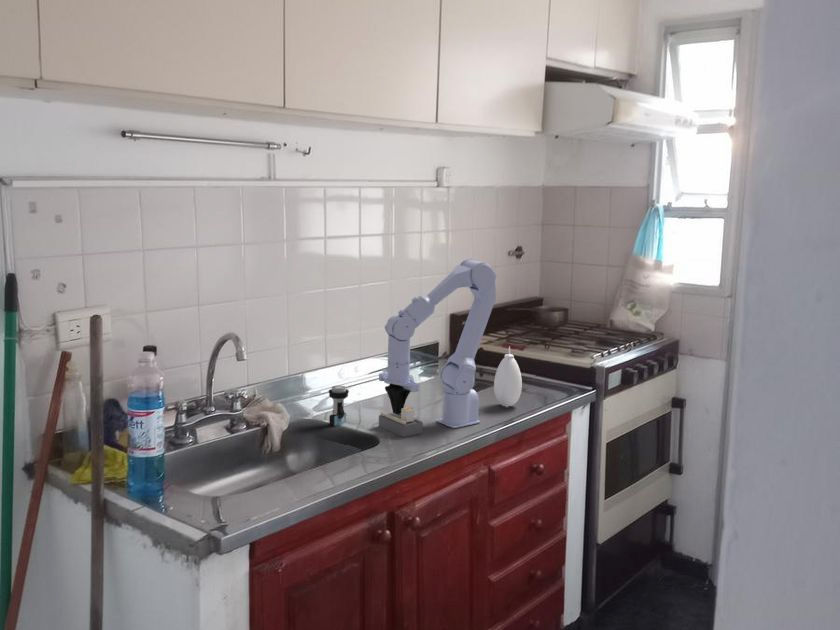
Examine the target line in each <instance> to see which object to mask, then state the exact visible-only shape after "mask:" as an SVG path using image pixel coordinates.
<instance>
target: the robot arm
mask: <svg viewBox="0 0 840 630" xmlns="http://www.w3.org/2000/svg"><path fill="white" fill-rule="evenodd" d="M497 276H498V275H497V273H496V272H495V270H494V268H493V266H491V264H489V263H487V262H483V261H478V260H475V259H472V258H467V259H465V260H463V261H462V262H460V263H459V264H458V265H457V266H455V267H454V268H453V269H452V271H451V272H450V273H449V274H448V275H447V276H445V278H444V279H443V280H442V281H440V283H439V284H438V285H437V286H435V287H434V288H433V289H432V290H431V291H430V292H429V293H428V294H427V295H425V296H423V295H420V296H417V297H416V296H414V297H413V298H412V299H411V301H412V302H411V303H410V304H408V305H407V306H406V307H405V308H404V309H399V311H398V312H397V313H398V314H396V315H392V316H390V318H389V319H387V323H386V324H385V325H384V329H385V333H386V334H388V336H387V337H388V342H387V343H388V344H387V372H380V373H379V374H378V381H380V382H384V383H385V384H387V385H386V386H384V390H385V392H386V394H387V396H388V399H389V401H390V406H391V409H392V413H395V414H399V413H401V409H403V408H405V403H406V400H407V399H408V397H409V395H410V393H417V392H419V391H420V389H419V388H420V387H419V386H420V385H419V383H417V382H415V381H414V379H411V378H410V372H411V371H410V369H411V368H410V367H411V366H410V365H411V363H410V362H411V338H412V337H413V336H414V334H415V331H416V329H417V328H418V327H419V326H420V325H422V324H423V323H424V322H425V321H426V320H428V318H429V317H431V315H433V314H434V312H435V307H436V306H437V305H438V304H439V303H440V302H441V301H443V300H444V299H445V298H447V297H448V296H450V295H451V294H452V293H454V292H455V291H456V290H457V289H460V288H469V290H470V291H471V293H472V295H473V297H474V298H473V301H472V304H471V307H470V309H469V312H468V316H467V318H466V321H465V323H464V326H463V329H462V332H461V335H460V338H459V340H458V343H457V346H456V348H455V352H454V353H452V354H451V355H450V356H449V357H448V359H447V362H446V363H445V364H444V365H443V366H442V367H441V370H440V371H439V379H440V380H441V382H442V383H443V389H442V390H443V391H442V395H443V396H442V417H441V418H436V419H435V422H437V423H439V424H441V425H445V426H447V427H450V428H452V429H458V428H463V427H467V426H470V425H475V424H479V423H481V420H479V403H480V399H479V395H478V393H477V391H476V390H475V389H473V388H474V385H475V381H476V379H475V375H476V374H475V373H476V370H477V368H476V362H475V359H476V354H477V352H478V349H479V347H480V344H481V341H482V339H483V335H484V333H485V330H486V327H487V324H488V321H489V318H490V316H491V314H492V310H493V308H494V305H495V302H496V299H497V289H496V279H497Z"/></svg>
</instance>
